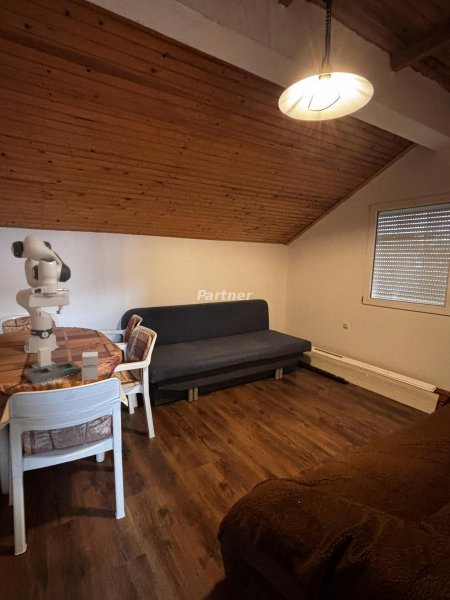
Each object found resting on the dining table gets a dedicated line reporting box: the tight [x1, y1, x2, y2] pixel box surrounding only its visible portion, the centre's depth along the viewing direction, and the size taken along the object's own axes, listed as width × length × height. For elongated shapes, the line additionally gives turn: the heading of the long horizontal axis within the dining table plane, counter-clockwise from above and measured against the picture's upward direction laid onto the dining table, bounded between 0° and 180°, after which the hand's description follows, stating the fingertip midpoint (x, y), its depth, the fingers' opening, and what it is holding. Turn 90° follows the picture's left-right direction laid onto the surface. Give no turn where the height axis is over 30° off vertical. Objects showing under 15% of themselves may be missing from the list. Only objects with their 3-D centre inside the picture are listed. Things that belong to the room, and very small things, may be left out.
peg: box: [37, 347, 52, 367], centre depth 161 cm, size 5×5×9 cm
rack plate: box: [23, 360, 82, 385], centre depth 152 cm, size 14×22×3 cm, turn 138°
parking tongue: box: [30, 360, 57, 368], centre depth 161 cm, size 9×10×1 cm
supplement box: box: [81, 351, 99, 382], centre depth 150 cm, size 7×7×13 cm
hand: (49, 314), depth 160 cm, fingers open, 8 cm apart
